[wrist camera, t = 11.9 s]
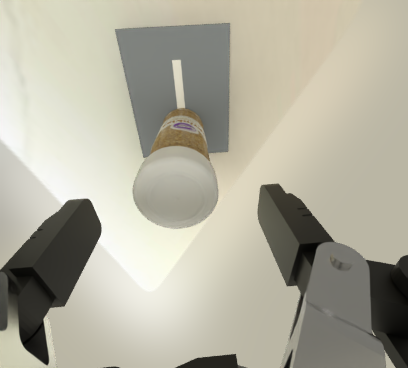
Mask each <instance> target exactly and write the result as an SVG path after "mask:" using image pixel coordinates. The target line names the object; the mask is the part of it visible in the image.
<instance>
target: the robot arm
mask: <svg viewBox="0 0 408 368" xmlns="http://www.w3.org/2000/svg"><path fill="white" fill-rule="evenodd" d="M258 220H259V223H260V225H261V228H262V230H263V232H264V235H265V237H266V239H267V242H268V243H269V246H270V248H271V251H272V253H273V255H274V257H275V260H276V262H277V264H278V266H279V269H280V271H281V273H282V276H283V278H284V280H285V283H286V285H287V286H296V285H297V286H298V288H299V290H300V292H301V293H300V296H299V300H298V304H297V308H296V312H295V316H294V320H293V323H292V327H291V332H290V335H289V339H288V344H287V347H286V350H285V353H284V356H283V360H282V363H281V367H280V368H386V361H385V352H384V350H385V351H386V353H387V354H388V356H389V358H390V359H391V361H392V363H393V364H394V366H395V367H396V368H408V255H406V256H403V257H401V258H400V260H399V261H398V262H397V264H396V265H392V264H386V263H381V262H374V261H369V260H365V259H364V258H363V257H362V256H361V255H360V254H359V253H358V252H357V251H355V250H354V249H352V248H350V247H348V246H346V245H343V244H340V243H336V242H334V241H333V239H332V238H331V237H330V236H329V234H328V233H327V232H326V230H324V228H323V227H322V225H321V224H320V223H319V222H318V221H317V219H316V218H315V217H314V216H312V213H311V212H310V211H309V209H307V207H306V206H305V204H304V203H303V202H302V201H301V200H300V199H299V198H297V197H296V196H294V195H293V194H291V193H289V194H286V193H285V191H284V190H283V189H282V187H281V186H280V185H279V184H268V185H262V186H261V188H260V195H259V204H258ZM100 235H101V223H100V221H99V218H98V216H97V214H96V212H95V209H94V207H93V205H92V203H91V201H90V200H89V199H75V200H68V201H67V202H66V203H65V204H64V205H63V207H62V208H61V209H60V210H59V211H58V212H56V213H55V214H54V215H52V216H51V217H49V218H48V219H47V220H45V221H44V222H43V223H42V225H41V226H40V227H39V228H38V229H37V231H35V232H34V233H33V234H32V236H31V237H30V239H28V240H27V241H26V242H25V243H24V244H23V246H22V247H21V248H20V249H19V250H18V251H17V252H16V253H15V254H14V256H13V257H12V258H11V259H10V260H9V261H8V262H7V263H6V265H4V267H3V268H2V269H1V270H0V368H57V364H56V358H55V352H54V346H53V341H52V335H51V329H50V323H49V318H48V317H47V316H46V314H47V312H48V311H49V309H50V308H53V307H62V306H65V304H66V302H67V300H68V299H69V296H70V295H71V293H72V291H73V289H74V287H75V284H76V283H77V281H78V279H79V277H80V275H81V273H82V271H83V269H84V267H85V265H86V263H87V261H88V259H89V257H90V255H91V253H92V251H93V249H94V247H95V245H96V244H97V242H98V240H99V238H100ZM372 330H373V332H374V334H375V335H376V336H374V335H373V334H372ZM106 368H119V367H106ZM176 368H246V367H243V366H239V365H237V358H236V354H231V355H222V356H212V357H203V358H196V359H194V360H191V361H190V362H187V363H185V364H183V365H180V366H178V367H176Z"/></svg>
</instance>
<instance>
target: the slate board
mask: <svg viewBox="0 0 408 368" xmlns="http://www.w3.org/2000/svg"><path fill="white" fill-rule="evenodd" d="M115 32H116V36H117V41H118V45H119V50H120V54H121V59H122V63H123V67H124V72H125V76H126V81H127V85H128V90H129V94H130V99H131V103H132V108H133V112H134V117H135V121H136V126H137V130H138V135H139V139H140V144H141V148H142V153H143V157H144V158H146V157H148V156H149V155H150V152H151V148H152V146H153V144H154V141H155V139H156V137H157V135H158V133H159V131H160V128H161V126H162V125H163V121H164V119H165V117H166V116H167V115H168V114H169V113H170V112H171V111H173V110H176V109H181V108H185V109H189V110H191V111H193V112H195V113H196V114H197V115H198V116H199V117H200V119H201V121H202V123H203V129H204V133H205V137H206V142H207V150H208V153H216V152H228V126H229V47H230V23H222V24H204V25H185V26H166V27H147V28H129V29H115Z"/></svg>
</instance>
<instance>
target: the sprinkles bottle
mask: <svg viewBox="0 0 408 368" xmlns="http://www.w3.org/2000/svg"><path fill="white" fill-rule="evenodd" d="M133 198H134V201H135V204H136V206H137V208H138V209H139V211H140V212H141V213H142V214H143V215H144V216H145V217H146V218H147V219H148V220H150V221H151V222H153V223H155V224H157V225H160V226H163V227H167V228H175V229H178V228H186V227H191V226H194V225H196V224H198V223H200V222H202V221H203V220H205V219H206V218H207V217H208V216H209V215H210V214H211V213H212V211H213V210H214V208H215V206H216V204H217V201H218V185H217V179H216V175H215V171H214V168H213V166H212V165H211V163H210V160H209V155H208V150H207V142H206V137H205V133H204V129H203V123H202V121H201V119H200V117H199V116H198V115H197V114H196V113H195V112H193V111H191V110H189V109H185V108H181V109H176V110H173V111H171V112H170V113H169V114H168V115H167V116H166V117H165V119H164V121H163V125H162V126H161V128H160V131H159V133H158V135H157V137H156V139H155V141H154V144H153V146H152V148H151V152H150V155H149V156H148V157H147V158H146V159H145V161H144V162H143V163H142V165H141V167H140V169H139V171H138V173H137V176H136V179H135V181H134V185H133Z"/></svg>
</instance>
